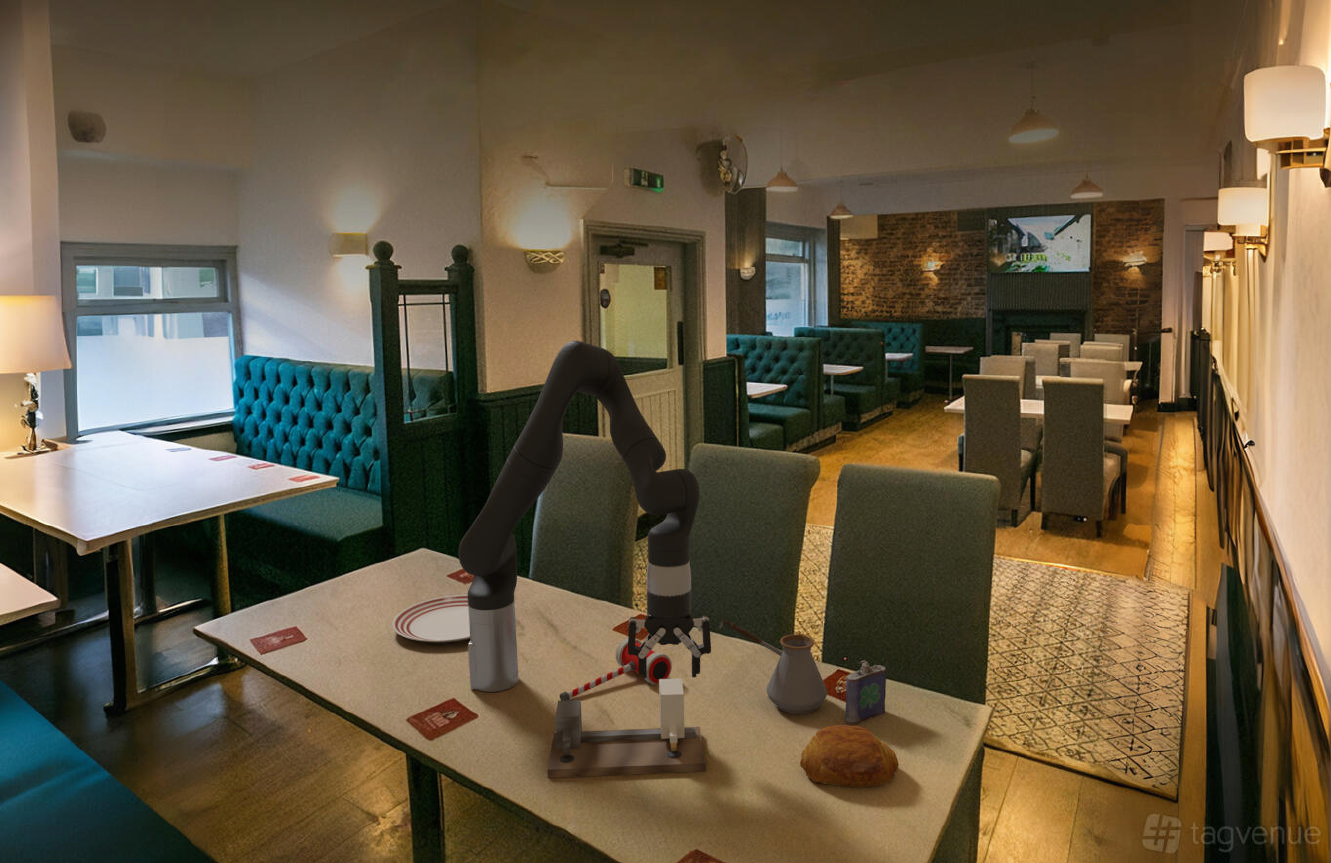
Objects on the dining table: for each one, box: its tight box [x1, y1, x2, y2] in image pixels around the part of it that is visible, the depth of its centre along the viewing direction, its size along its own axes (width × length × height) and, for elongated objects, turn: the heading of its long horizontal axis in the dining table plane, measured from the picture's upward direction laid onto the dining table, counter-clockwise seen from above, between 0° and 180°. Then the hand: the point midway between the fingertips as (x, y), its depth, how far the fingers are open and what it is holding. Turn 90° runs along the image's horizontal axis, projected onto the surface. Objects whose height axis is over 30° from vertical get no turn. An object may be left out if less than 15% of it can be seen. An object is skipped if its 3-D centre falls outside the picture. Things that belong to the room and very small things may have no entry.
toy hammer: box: [559, 637, 673, 701], centre depth 173 cm, size 23×12×6 cm, turn 127°
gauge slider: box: [658, 678, 685, 751], centre depth 148 cm, size 4×10×8 cm, turn 2°
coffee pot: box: [718, 618, 828, 715], centre depth 165 cm, size 21×12×15 cm, turn 65°
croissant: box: [799, 724, 900, 788], centre depth 141 cm, size 14×16×8 cm
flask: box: [844, 660, 888, 726], centre depth 158 cm, size 9×3×11 cm, turn 121°
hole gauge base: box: [546, 699, 707, 779], centre depth 146 cm, size 26×12×8 cm, turn 92°
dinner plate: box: [391, 594, 470, 643], centre depth 205 cm, size 28×27×3 cm
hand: (669, 675), depth 148 cm, fingers open, 8 cm apart
